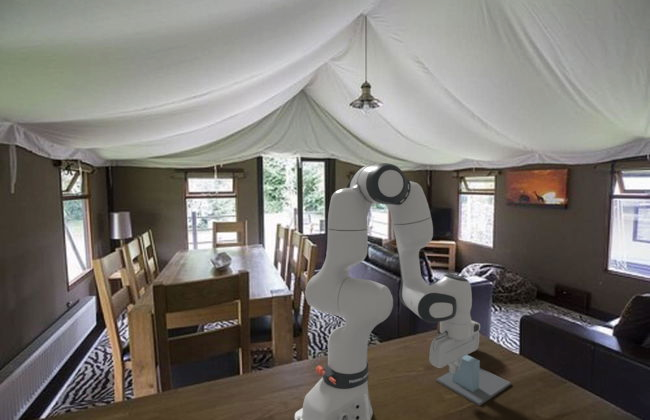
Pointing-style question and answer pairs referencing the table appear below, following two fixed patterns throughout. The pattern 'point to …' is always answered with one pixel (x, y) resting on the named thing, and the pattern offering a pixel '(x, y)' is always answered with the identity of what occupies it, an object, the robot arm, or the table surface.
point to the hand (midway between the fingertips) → (454, 371)
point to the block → (468, 373)
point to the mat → (486, 390)
